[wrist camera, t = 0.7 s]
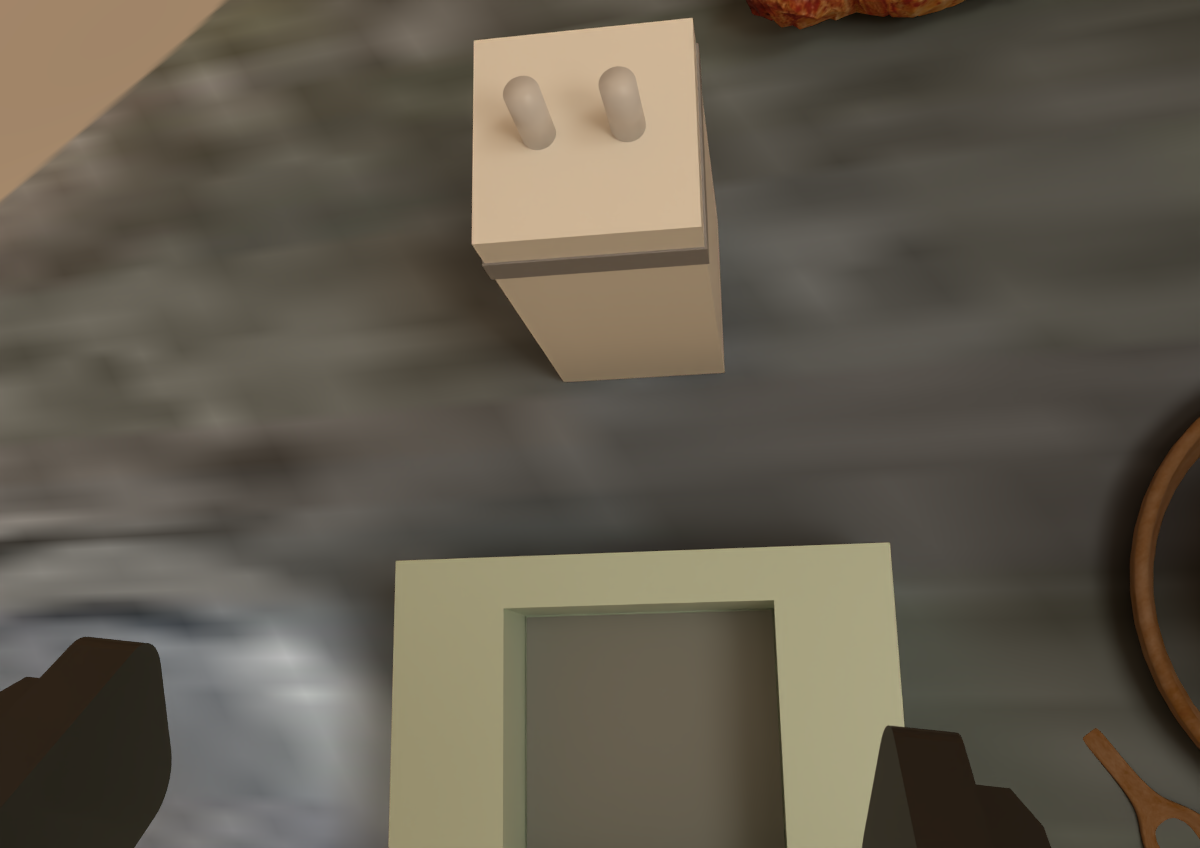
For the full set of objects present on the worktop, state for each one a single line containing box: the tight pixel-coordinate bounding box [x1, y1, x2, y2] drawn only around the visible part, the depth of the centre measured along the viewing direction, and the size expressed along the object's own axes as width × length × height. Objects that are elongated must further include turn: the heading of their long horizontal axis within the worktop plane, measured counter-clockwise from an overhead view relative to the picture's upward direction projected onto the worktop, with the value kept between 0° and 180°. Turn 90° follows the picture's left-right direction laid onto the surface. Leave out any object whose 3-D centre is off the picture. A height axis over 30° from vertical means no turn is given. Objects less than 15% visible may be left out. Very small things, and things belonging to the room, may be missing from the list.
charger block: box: [472, 18, 725, 382], centre depth 26 cm, size 5×5×12 cm
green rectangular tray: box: [388, 543, 904, 848], centre depth 28 cm, size 12×9×3 cm
